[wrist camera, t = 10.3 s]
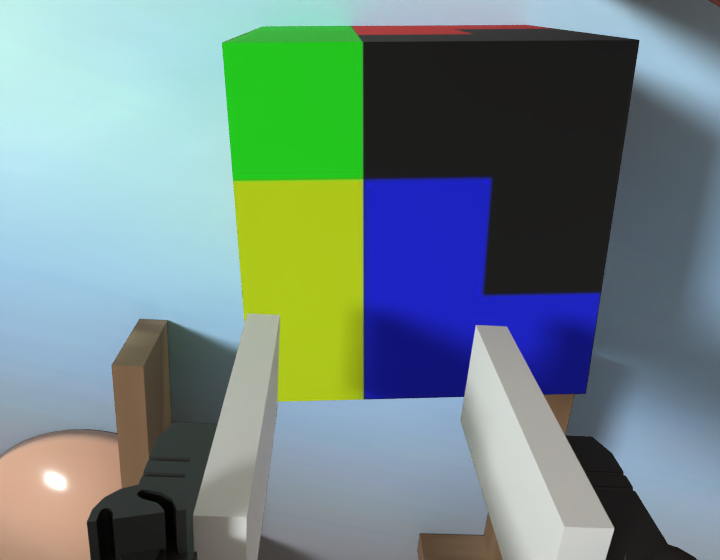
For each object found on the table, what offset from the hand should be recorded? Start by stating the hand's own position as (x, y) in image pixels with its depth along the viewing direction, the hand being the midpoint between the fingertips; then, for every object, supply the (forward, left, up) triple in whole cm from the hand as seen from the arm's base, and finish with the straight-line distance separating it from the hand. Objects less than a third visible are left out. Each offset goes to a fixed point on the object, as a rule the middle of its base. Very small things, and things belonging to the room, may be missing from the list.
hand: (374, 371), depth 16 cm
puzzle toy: (+1, +2, -13) cm, 13 cm away
